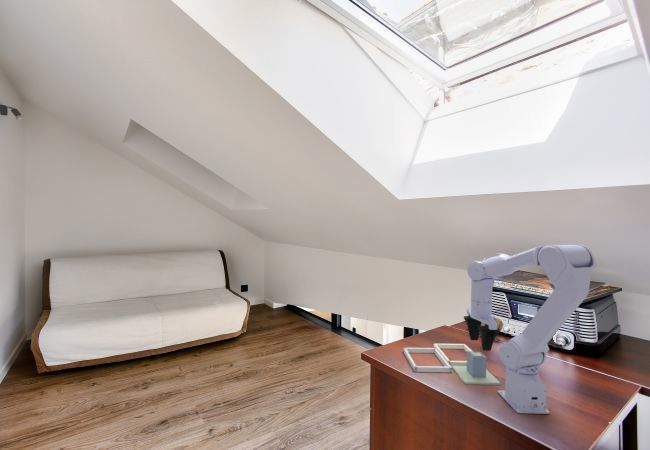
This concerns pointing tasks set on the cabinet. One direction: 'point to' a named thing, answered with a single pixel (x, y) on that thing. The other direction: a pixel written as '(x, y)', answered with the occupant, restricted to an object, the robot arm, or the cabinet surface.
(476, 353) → the slate block
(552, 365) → the cabinet surface
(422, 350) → the grey rectangular frame
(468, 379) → the green mat
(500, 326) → the lion figurine
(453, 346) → the cream rectangular frame
